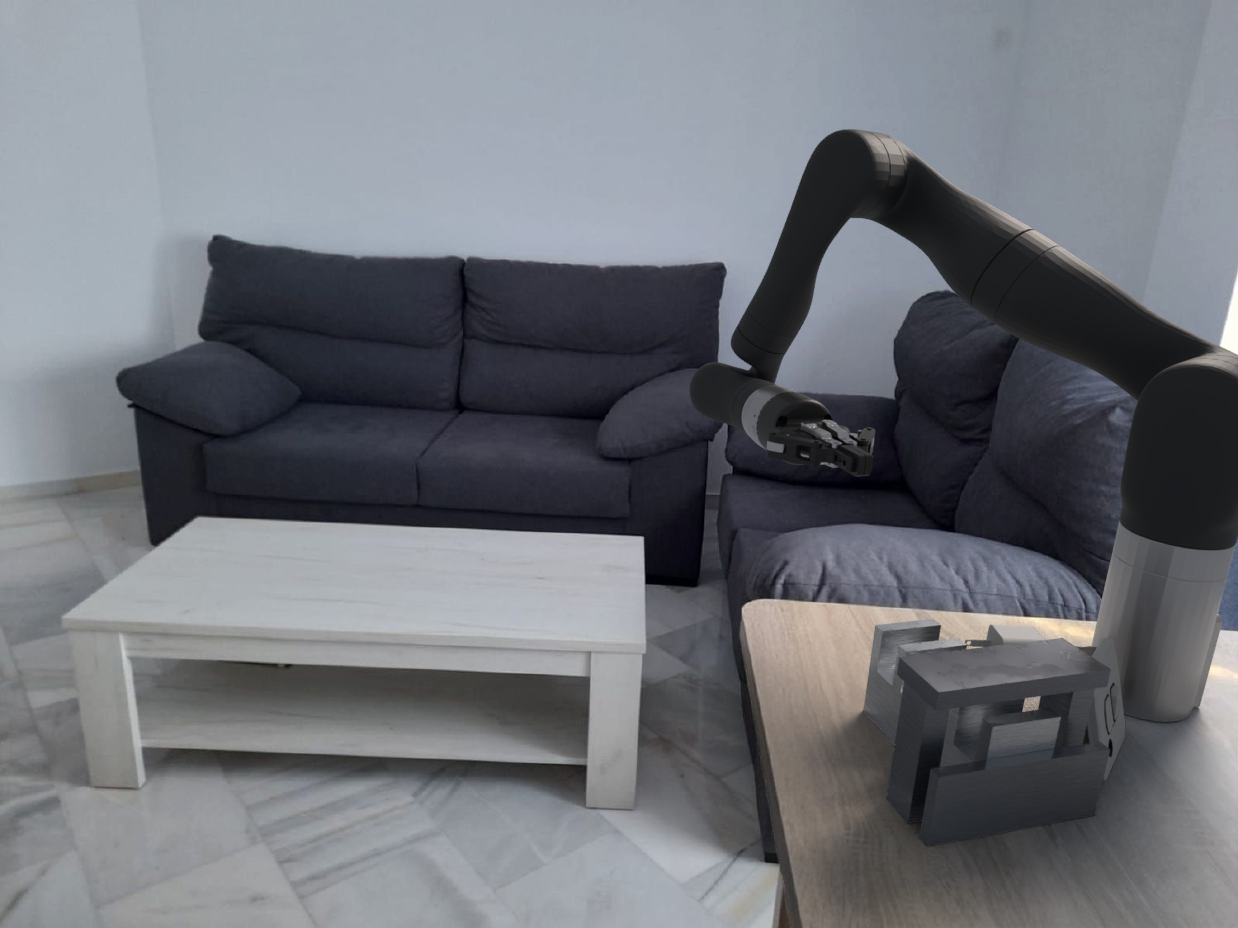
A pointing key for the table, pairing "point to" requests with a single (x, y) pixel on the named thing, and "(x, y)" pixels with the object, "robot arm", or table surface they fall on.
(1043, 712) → the heatsink block
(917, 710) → the grey open box frame
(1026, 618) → the table surface
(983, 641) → the usb wall charger
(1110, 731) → the electrical switch
